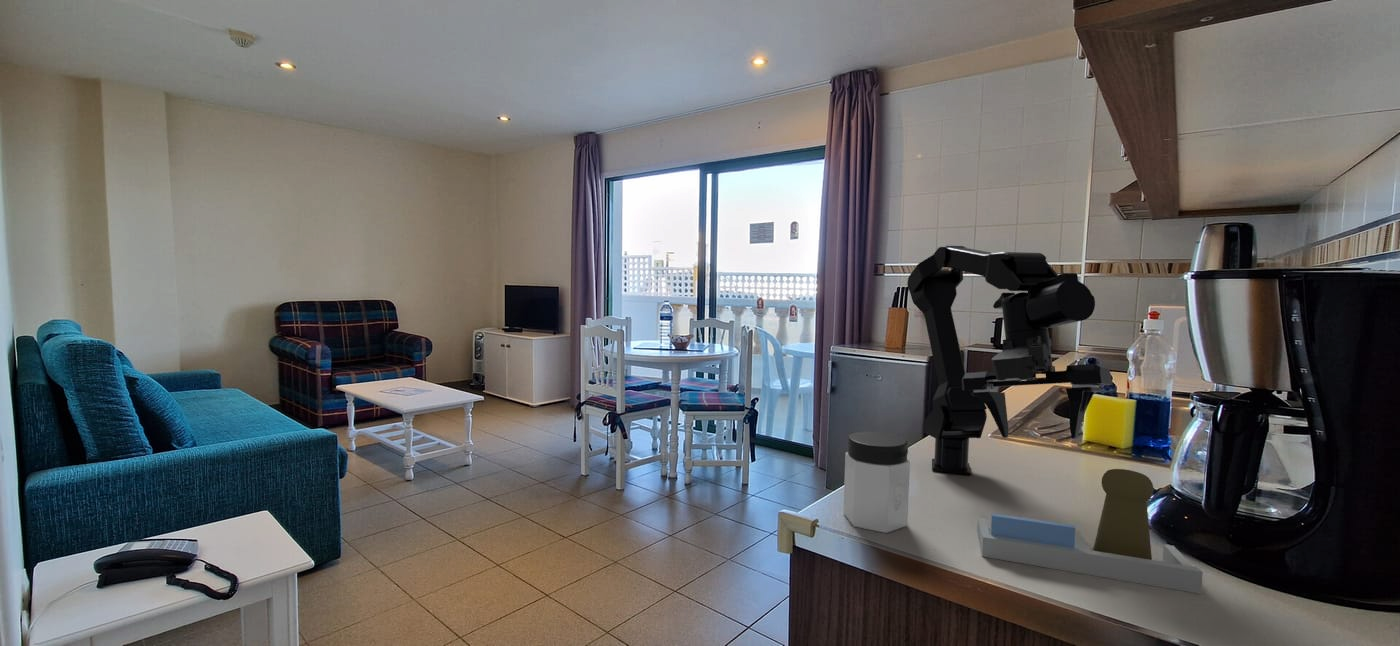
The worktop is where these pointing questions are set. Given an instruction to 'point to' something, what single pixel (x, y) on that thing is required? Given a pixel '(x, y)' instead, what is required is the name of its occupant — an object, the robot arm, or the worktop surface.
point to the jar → (876, 481)
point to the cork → (1125, 514)
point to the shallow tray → (1080, 553)
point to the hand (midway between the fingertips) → (1038, 437)
